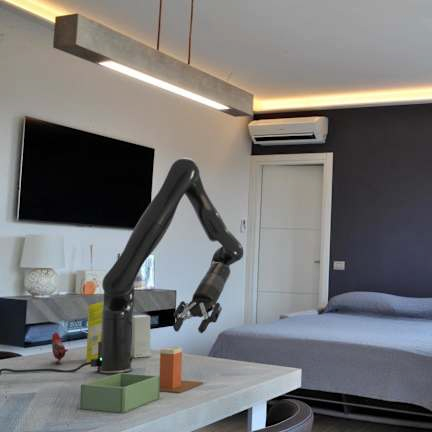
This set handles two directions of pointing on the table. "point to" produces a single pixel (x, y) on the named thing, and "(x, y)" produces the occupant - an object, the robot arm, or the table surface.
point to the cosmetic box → (141, 336)
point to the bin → (119, 392)
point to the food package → (94, 330)
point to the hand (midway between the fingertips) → (187, 330)
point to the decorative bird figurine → (58, 347)
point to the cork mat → (182, 386)
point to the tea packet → (170, 367)
